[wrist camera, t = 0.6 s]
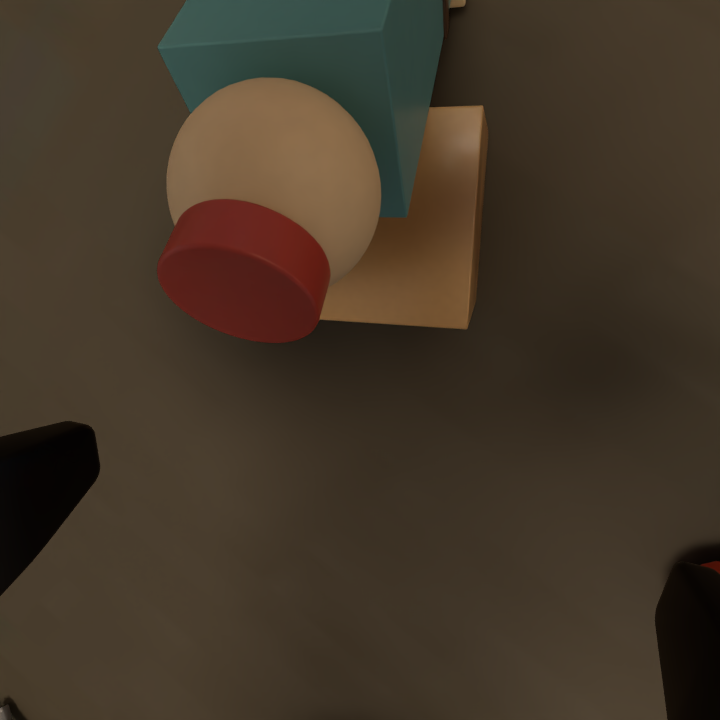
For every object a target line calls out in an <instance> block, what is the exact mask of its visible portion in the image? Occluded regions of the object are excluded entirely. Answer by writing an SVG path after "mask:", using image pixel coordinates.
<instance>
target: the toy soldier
mask: <svg viewBox="0 0 720 720" xmlns="http://www.w3.org/2000/svg"><path fill="white" fill-rule="evenodd" d="M465 3H466V0H187V1H186V2H185V4H184V5H183V7H182V9H181V10H180V12H179V13H178V15H177V16H176V18H175V20H174V21H173V23H172V24H171V26H170V28H169V29H168V31H167V32H166V34H165V35H164V37H163V39H162V40H161V42H160V43H159V45H158V50H159V52H160V54H161V56H162V58H163V60H164V62H165V64H166V66H167V68H168V70H169V72H170V74H171V76H172V78H173V80H174V82H175V84H176V86H177V88H178V90H179V91H180V93H181V95H182V97H183V99H184V101H185V103H186V105H187V107H188V109H189V111H190V113H191V114H190V116H189V117H188V118H187V119H186V121H185V122H184V124H183V126H182V127H181V129H180V130H179V133H178V135H177V137H176V139H175V141H174V144H173V147H172V151H171V154H170V158H169V163H168V168H167V197H168V204H169V209H170V213H171V217H172V220H173V222H174V225H175V227H174V230H173V232H172V234H171V236H170V238H169V240H168V242H167V244H166V246H165V248H164V251H163V253H162V255H161V257H160V259H159V262H158V266H157V274H158V279H159V282H160V285H161V286H162V288H163V290H164V291H165V293H166V294H167V296H168V297H169V298H170V299H171V300H172V301H173V302H174V303H175V304H176V305H177V306H178V307H179V308H180V309H182V310H183V311H184V312H186V313H187V314H188V315H190V316H191V317H193V318H195V319H196V320H198V321H200V322H201V323H203V324H205V325H207V326H209V327H211V328H213V329H216V330H218V331H220V332H223V333H226V334H228V335H231V336H235V337H238V338H242V339H246V340H251V341H256V342H265V343H284V342H291V341H295V340H298V339H301V338H303V337H305V336H307V335H308V334H310V333H311V332H312V331H313V330H314V329H315V327H316V326H317V324H318V322H319V319H320V315H321V311H322V308H323V304H324V301H325V297H326V293H327V290H328V287H330V286H332V285H333V284H335V283H336V282H338V281H339V280H341V279H342V278H343V277H344V276H345V275H346V274H348V273H349V272H350V271H351V270H352V269H353V268H354V266H355V265H356V264H357V263H358V262H359V261H360V259H361V258H362V256H363V255H364V253H365V251H366V250H367V248H368V246H369V244H370V242H371V240H372V238H373V235H374V232H375V229H376V226H377V223H378V219H379V217H395V218H406V217H407V215H408V211H409V206H410V201H411V196H412V191H413V186H414V181H415V176H416V171H417V166H418V161H419V156H420V151H421V146H422V141H423V136H424V131H425V126H426V121H427V116H428V111H429V106H430V101H431V96H432V91H433V87H434V82H435V77H436V72H437V67H438V62H439V57H440V52H441V47H442V42H443V40H445V39H447V37H448V32H449V8H454V7H463V6H465Z"/></svg>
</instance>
